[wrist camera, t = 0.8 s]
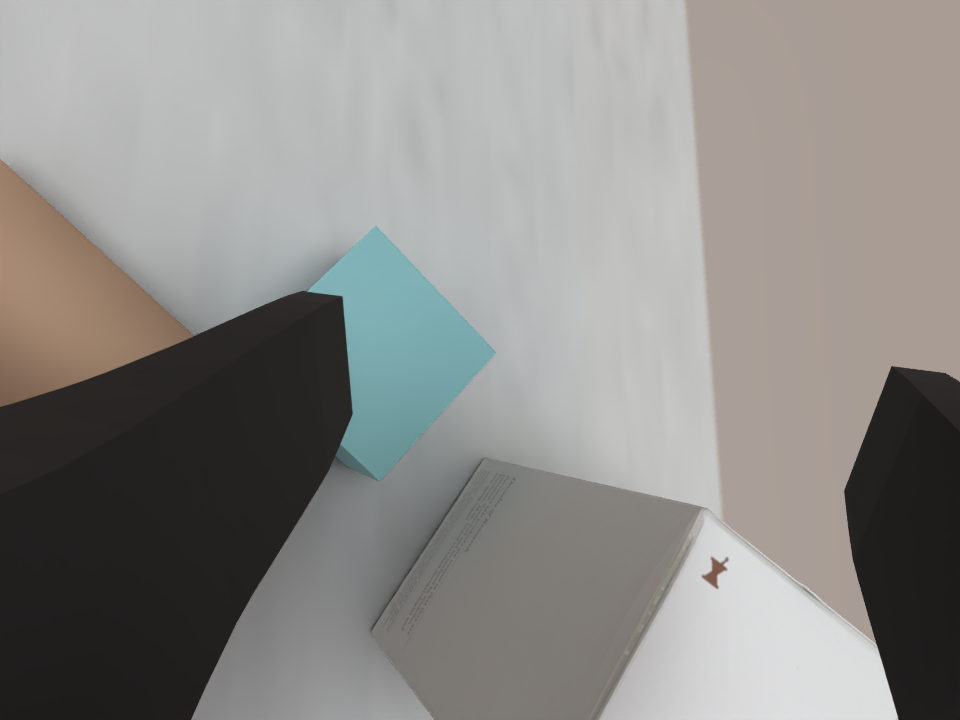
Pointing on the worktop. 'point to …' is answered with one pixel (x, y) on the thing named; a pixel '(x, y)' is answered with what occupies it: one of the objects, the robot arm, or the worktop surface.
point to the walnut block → (65, 302)
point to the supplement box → (615, 614)
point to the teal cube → (396, 352)
